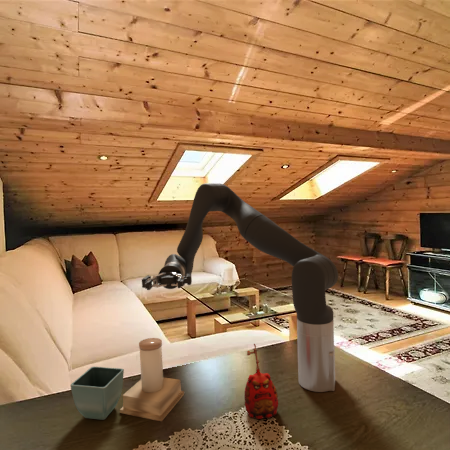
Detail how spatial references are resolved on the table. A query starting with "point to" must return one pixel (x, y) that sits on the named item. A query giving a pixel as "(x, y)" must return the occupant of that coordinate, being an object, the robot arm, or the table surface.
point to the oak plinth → (152, 400)
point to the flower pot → (97, 391)
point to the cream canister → (151, 364)
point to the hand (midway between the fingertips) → (163, 285)
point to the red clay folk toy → (260, 394)
